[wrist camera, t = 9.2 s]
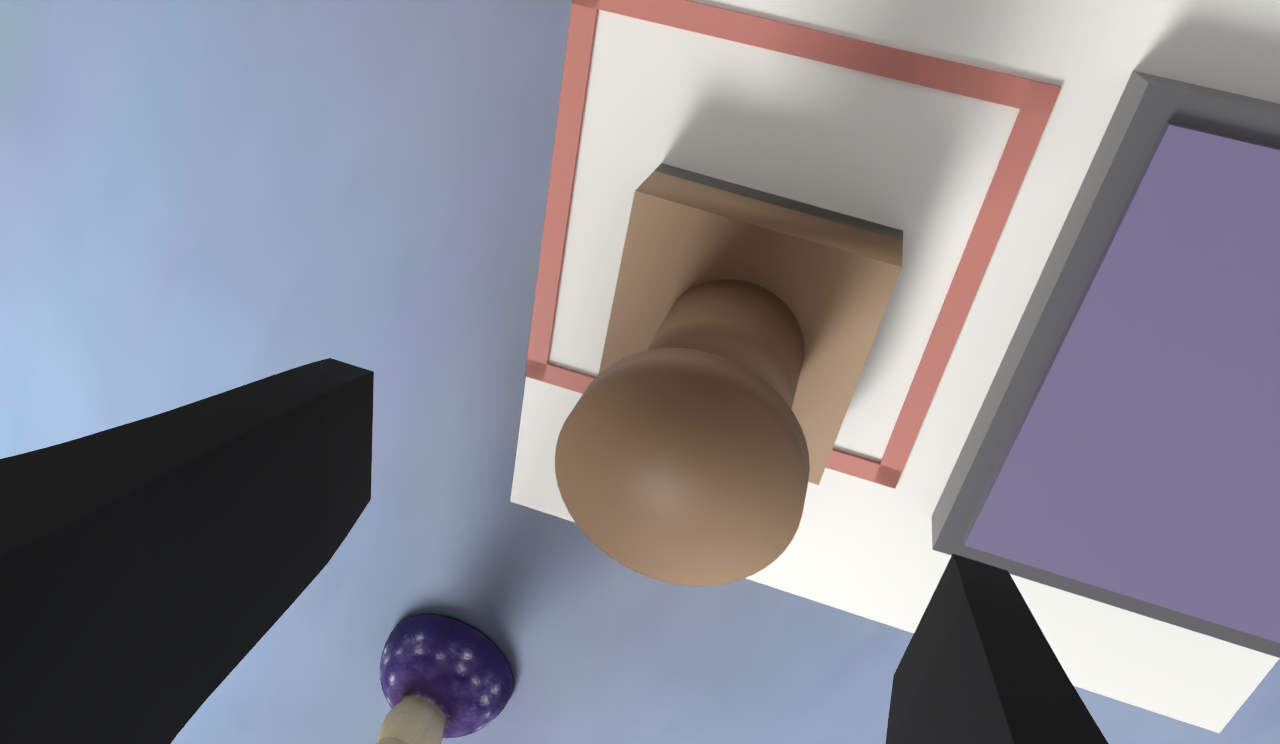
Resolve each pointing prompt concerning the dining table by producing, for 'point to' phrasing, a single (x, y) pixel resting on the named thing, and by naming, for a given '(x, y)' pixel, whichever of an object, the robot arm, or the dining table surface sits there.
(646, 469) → the stamp
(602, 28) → the paper sheet
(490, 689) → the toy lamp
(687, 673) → the dining table surface
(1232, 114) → the ink pad
